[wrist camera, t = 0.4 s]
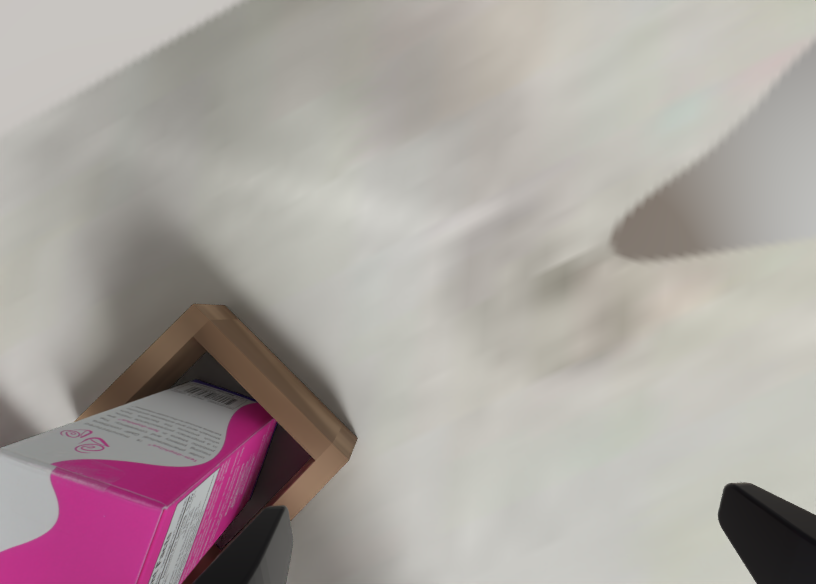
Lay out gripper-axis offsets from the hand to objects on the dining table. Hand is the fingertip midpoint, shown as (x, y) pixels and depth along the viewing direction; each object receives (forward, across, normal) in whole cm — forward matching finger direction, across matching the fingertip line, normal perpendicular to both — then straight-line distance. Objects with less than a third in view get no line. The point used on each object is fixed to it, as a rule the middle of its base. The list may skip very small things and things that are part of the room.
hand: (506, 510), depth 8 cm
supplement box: (+14, +13, +8) cm, 21 cm away
